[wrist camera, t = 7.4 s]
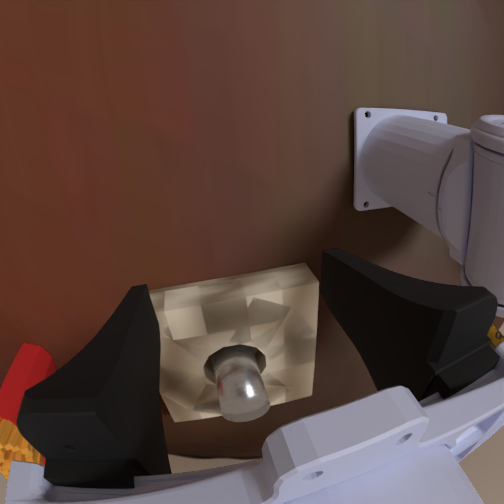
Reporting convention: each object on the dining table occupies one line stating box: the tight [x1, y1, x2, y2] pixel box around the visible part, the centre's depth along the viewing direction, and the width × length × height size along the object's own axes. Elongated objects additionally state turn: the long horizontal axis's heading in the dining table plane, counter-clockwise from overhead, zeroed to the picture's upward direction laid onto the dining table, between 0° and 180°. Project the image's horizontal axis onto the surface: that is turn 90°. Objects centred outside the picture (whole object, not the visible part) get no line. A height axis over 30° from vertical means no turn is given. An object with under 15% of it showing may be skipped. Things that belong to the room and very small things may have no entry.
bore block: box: [148, 263, 319, 422], centre depth 26 cm, size 14×14×3 cm
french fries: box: [0, 343, 57, 479], centre depth 19 cm, size 9×4×13 cm, turn 167°
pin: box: [211, 344, 270, 422], centre depth 24 cm, size 4×4×7 cm
